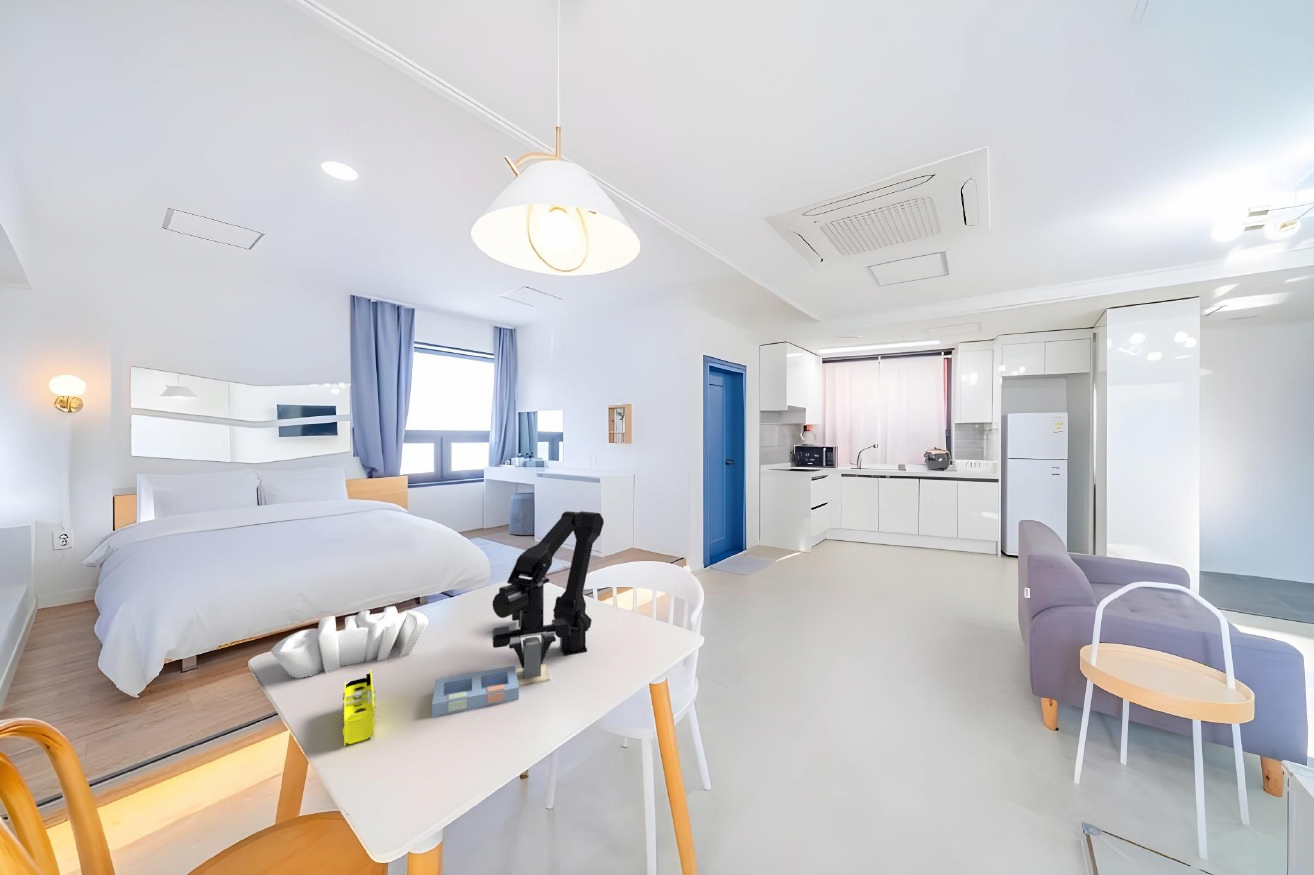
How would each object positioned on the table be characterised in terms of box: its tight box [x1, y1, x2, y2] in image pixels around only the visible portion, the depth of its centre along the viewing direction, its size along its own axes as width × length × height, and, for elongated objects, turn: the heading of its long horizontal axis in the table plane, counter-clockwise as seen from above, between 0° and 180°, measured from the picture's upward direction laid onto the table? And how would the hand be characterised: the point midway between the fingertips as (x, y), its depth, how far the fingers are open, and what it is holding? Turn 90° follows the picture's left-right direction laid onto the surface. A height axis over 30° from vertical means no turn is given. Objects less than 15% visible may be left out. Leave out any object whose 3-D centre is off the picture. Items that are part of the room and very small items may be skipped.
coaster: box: [515, 663, 551, 688], centre depth 116 cm, size 8×8×1 cm
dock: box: [431, 665, 520, 719], centre depth 107 cm, size 18×11×3 cm, turn 112°
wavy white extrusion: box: [270, 605, 429, 679], centre depth 126 cm, size 35×16×11 cm, turn 118°
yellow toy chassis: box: [342, 669, 376, 747], centre depth 97 cm, size 16×6×8 cm, turn 34°
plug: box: [522, 636, 541, 679], centre depth 116 cm, size 4×4×9 cm
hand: (531, 666), depth 116 cm, fingers closed on plug, 4 cm apart
